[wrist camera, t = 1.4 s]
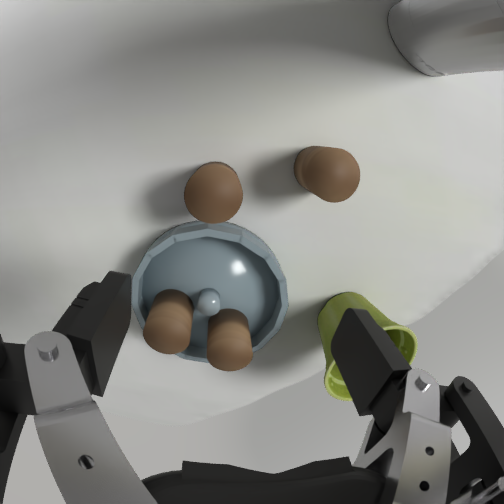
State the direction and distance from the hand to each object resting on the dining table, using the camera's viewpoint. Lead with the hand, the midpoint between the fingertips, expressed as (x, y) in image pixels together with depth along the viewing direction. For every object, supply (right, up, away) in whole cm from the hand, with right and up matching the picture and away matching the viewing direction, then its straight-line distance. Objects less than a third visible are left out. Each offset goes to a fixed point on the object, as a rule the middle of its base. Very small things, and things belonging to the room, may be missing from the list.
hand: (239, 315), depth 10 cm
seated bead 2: (-2, -5, +17) cm, 18 cm away
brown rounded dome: (-3, +8, +13) cm, 15 cm away
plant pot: (+10, -5, +20) cm, 23 cm away
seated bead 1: (-7, -3, +16) cm, 18 cm away
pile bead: (+6, +9, +13) cm, 17 cm away
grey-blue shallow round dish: (-4, -2, +17) cm, 17 cm away
